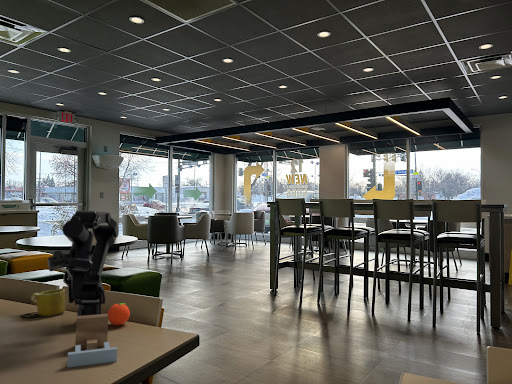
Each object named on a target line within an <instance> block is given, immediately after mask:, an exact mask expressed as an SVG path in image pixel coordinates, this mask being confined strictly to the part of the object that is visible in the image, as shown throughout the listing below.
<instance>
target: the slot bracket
mask: <svg viewBox="0 0 512 384" xmlns="http://www.w3.org/2000/svg"><path fill="white" fill-rule="evenodd" d="M110 345H111V344H110V341H107V342H104V346H103V348H97V349H95V350H86V349H85V350H82V349H81V345H74V347H75V348H74V351H70V352H67V365H66V366H67V368H75V367H83V366H89V365H90V366H91V365H98V364H107V363H113V362H114V363H115V362H117V361H118V347H117V346H113V347H111V346H110Z"/></svg>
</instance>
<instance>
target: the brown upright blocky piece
mask: <svg viewBox="0 0 512 384" xmlns="http://www.w3.org/2000/svg"><path fill="white" fill-rule="evenodd" d="M75 319H76V320H75V324H76V325H75V345H81V350H82V349H85V351H86V350H95V349H98V348H101V347H104V342H108V335H109V334H108V333H109V332H108V331H109V330H108V329H109V319H108V313H101V314H99V315H87V316H77V315H76V318H75ZM75 345H74V346H75Z"/></svg>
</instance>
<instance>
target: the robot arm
mask: <svg viewBox="0 0 512 384" xmlns="http://www.w3.org/2000/svg"><path fill="white" fill-rule="evenodd" d="M91 230H92V231H91ZM62 233H63V235H64V236H65V237H66V239H68V241H70V243H71V248H70V250H69V253H63V252H62V251H61V250H56V251H55V250H54V251H53V255H52V256H49V257H48V258H47V260H46V261H47V266H48V270H49V272H54V271H55V270H56V271H57V270H60V269H65V270H67V271H65V272H64V274H63V279H62V281H63V284H65V285H66V286H67V294H68V297H67V298H68V303H69V304H73V303H74V305H75V306H78V308H77V310H76V311H77V313H76V317H77V316H87V315H99V314H102V305H105V304H106V299H107V298H106V295H107V294H106V292H105V288H104V286H103V281H102V278H101V277H102V273H103V269H104V266H105V263H106V258H107V255H108V251H109V248H110V247H111V246H113V245H114V244H115V243H116V240H117V238H118V237H119V226H118V222H117V221H116V220H115V219H113V217H112V216H111V212H108V211H105V212H104V211H96V210H76V211H75V212H74V213H73V215H72V216H71V218H70V219H69V220H68V221H67V222H66V223H64V224H63V226H62ZM94 240H95V246H94V249H93V252H92V248H93V241H94Z"/></svg>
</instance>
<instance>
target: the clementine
mask: <svg viewBox="0 0 512 384" xmlns="http://www.w3.org/2000/svg"><path fill="white" fill-rule="evenodd" d="M128 306H129V307H130V308H132V307H131V305H130V304H128V305H127V303H124V302H123V303H122V302H121V303H120V302H119V303H115V304H113V305H112V306H111V307H110V308H109V309H108V311H107V314H108V322H109V323H110V324H111V325H114V326H122V325H124V324H125V323H126V322H127V321H128V320H129V318H130V315H131V312H130V308H129V307H128Z"/></svg>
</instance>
